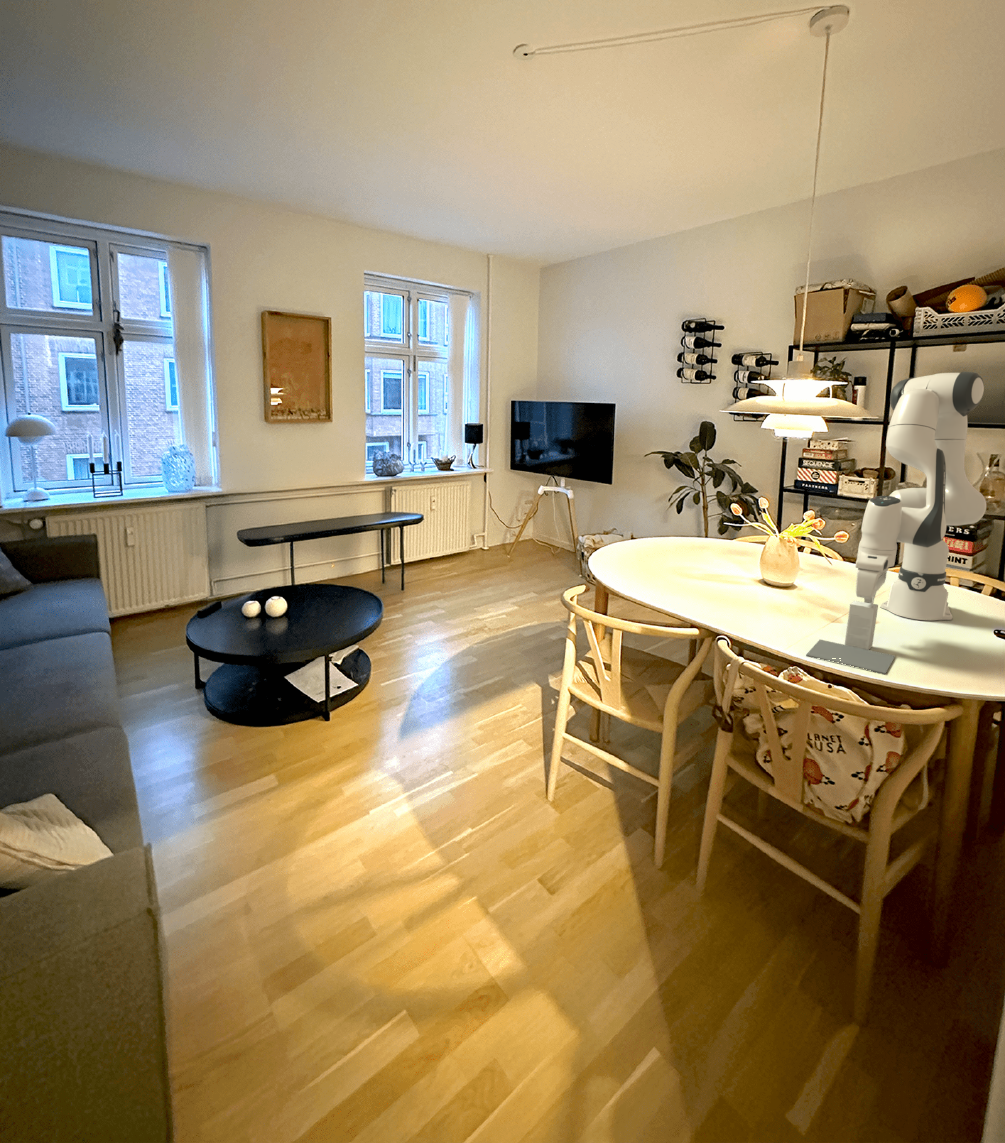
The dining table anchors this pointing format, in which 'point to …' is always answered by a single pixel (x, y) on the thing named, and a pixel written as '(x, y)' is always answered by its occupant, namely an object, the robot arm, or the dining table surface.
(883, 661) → the mat
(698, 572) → the dining table surface
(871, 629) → the skincare box
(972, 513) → the robot arm
